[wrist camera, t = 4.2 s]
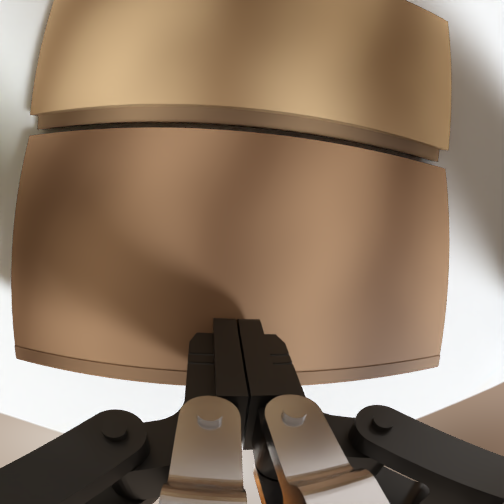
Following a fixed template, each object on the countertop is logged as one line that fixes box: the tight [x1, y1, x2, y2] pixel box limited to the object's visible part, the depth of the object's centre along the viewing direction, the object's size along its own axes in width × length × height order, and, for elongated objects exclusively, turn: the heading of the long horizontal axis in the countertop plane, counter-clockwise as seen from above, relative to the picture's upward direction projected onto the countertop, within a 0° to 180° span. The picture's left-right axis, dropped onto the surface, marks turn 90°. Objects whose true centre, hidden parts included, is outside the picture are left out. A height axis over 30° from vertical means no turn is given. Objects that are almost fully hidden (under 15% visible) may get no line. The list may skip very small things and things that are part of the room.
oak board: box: [30, 0, 451, 162], centre depth 9 cm, size 18×8×1 cm, turn 85°
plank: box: [11, 127, 449, 385], centre depth 11 cm, size 18×9×1 cm, turn 84°
